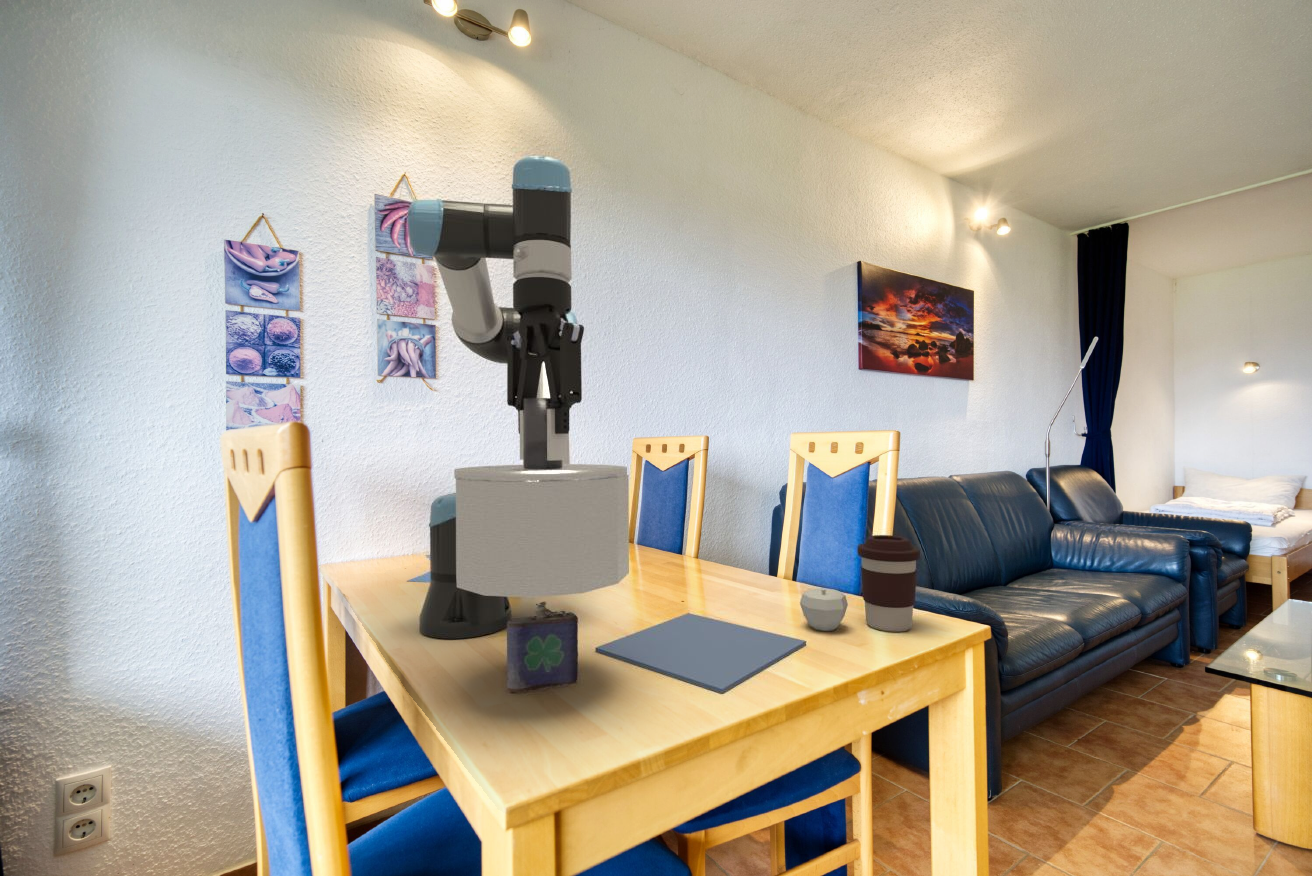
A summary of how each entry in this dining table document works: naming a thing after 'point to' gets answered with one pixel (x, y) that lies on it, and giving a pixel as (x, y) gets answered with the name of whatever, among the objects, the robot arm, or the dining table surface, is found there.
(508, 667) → the flask
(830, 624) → the grey faceted round piece
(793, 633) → the dining table surface
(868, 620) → the coffee cup
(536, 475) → the cake dome
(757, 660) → the mat
